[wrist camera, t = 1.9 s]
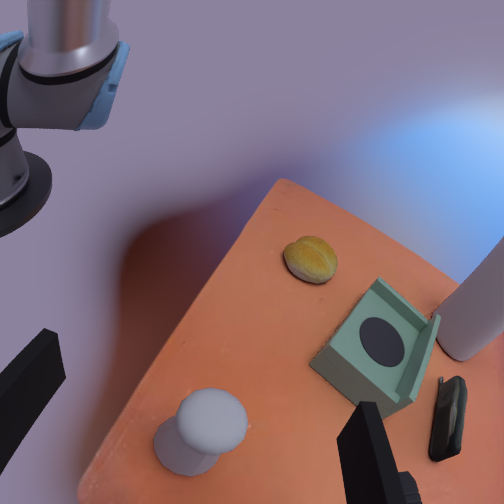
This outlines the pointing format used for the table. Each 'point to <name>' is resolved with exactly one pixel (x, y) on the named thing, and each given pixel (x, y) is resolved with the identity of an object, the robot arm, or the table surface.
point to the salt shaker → (200, 431)
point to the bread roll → (311, 259)
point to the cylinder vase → (474, 309)
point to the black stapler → (449, 419)
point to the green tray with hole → (379, 350)
